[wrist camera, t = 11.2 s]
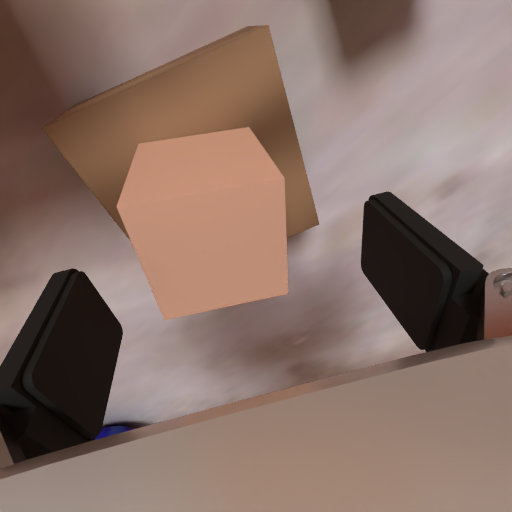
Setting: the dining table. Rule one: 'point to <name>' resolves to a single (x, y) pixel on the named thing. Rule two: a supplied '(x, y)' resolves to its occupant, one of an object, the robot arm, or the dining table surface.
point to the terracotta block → (207, 221)
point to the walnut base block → (189, 118)
